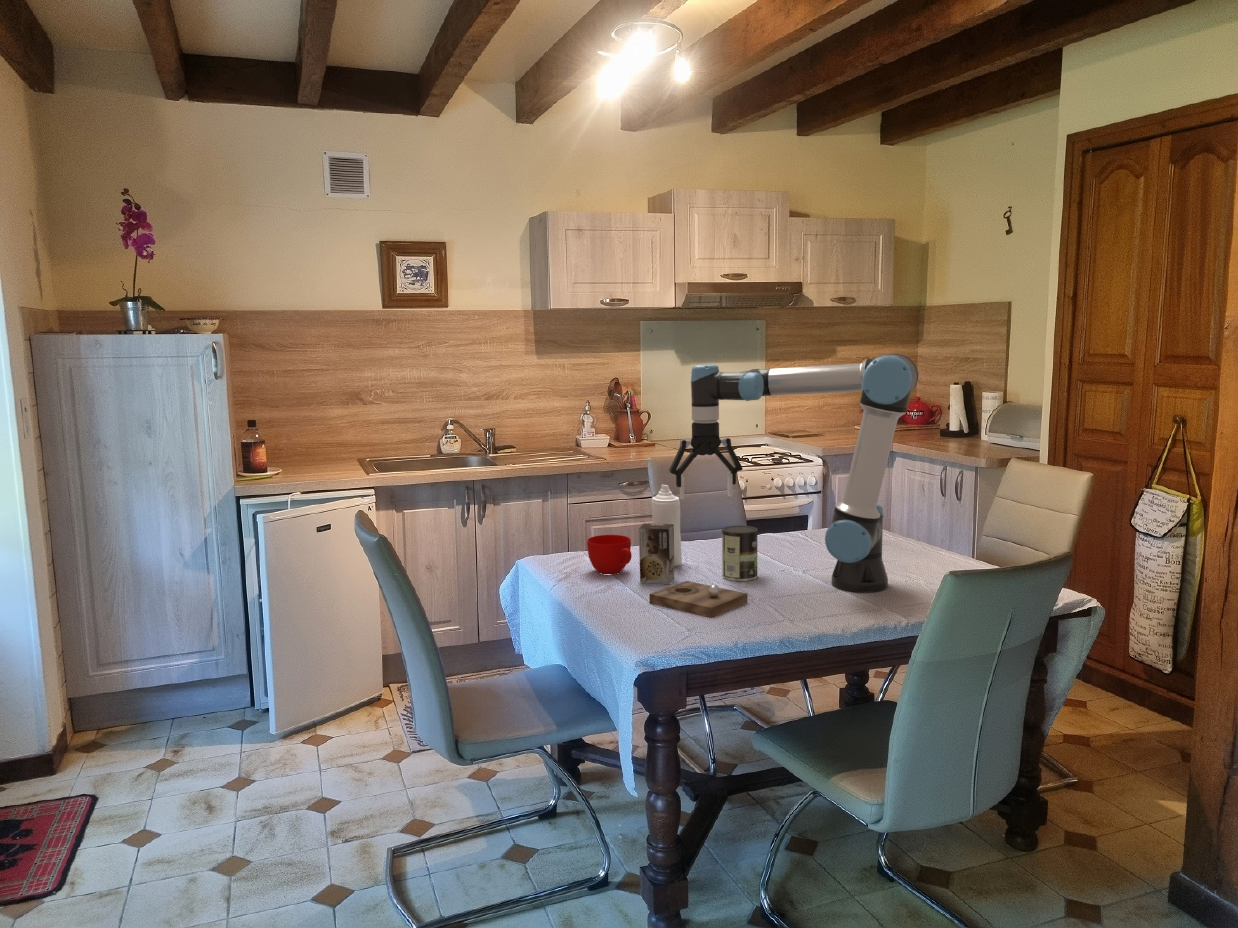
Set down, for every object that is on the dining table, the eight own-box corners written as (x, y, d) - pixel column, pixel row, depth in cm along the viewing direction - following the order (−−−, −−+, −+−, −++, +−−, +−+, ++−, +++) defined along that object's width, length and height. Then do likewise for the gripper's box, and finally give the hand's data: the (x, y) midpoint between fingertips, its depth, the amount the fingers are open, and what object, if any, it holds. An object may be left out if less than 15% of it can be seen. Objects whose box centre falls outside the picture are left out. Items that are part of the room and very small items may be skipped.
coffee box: (675, 578, 270) (674, 523, 268) (670, 584, 264) (669, 528, 262) (644, 577, 273) (643, 522, 270) (638, 582, 266) (638, 527, 264)
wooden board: (747, 602, 246) (747, 593, 245) (711, 617, 234) (711, 607, 234) (686, 589, 259) (686, 580, 259) (649, 602, 247) (649, 593, 247)
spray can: (692, 566, 283) (691, 484, 279) (660, 571, 279) (660, 488, 275) (673, 558, 293) (672, 479, 290) (643, 562, 289) (642, 482, 285)
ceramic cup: (612, 583, 266) (611, 549, 265) (579, 571, 280) (578, 538, 278) (648, 575, 274) (647, 542, 272) (614, 564, 287) (613, 532, 286)
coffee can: (758, 572, 275) (758, 525, 273) (756, 582, 265) (756, 533, 263) (723, 571, 277) (723, 524, 275) (720, 580, 267) (720, 532, 265)
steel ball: (722, 596, 243) (722, 584, 242) (715, 599, 241) (715, 587, 240) (712, 594, 245) (712, 582, 245) (705, 597, 243) (705, 585, 242)
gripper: (745, 418, 264) (746, 492, 267) (658, 421, 260) (659, 497, 263) (753, 421, 256) (753, 497, 259) (663, 424, 253) (664, 501, 256)
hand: (706, 497), depth 261 cm, fingers open, 13 cm apart
